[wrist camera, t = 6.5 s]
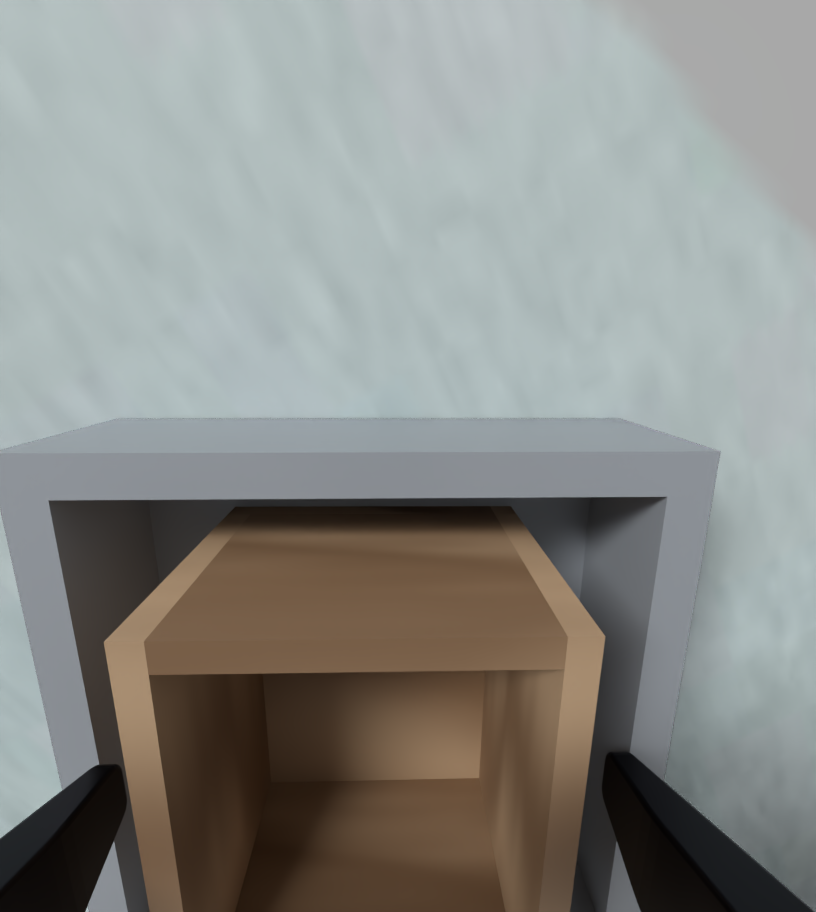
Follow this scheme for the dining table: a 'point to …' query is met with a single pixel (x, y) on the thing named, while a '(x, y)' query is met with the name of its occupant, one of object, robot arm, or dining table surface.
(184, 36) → the dining table surface
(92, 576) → the grey crate
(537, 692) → the walnut crate
